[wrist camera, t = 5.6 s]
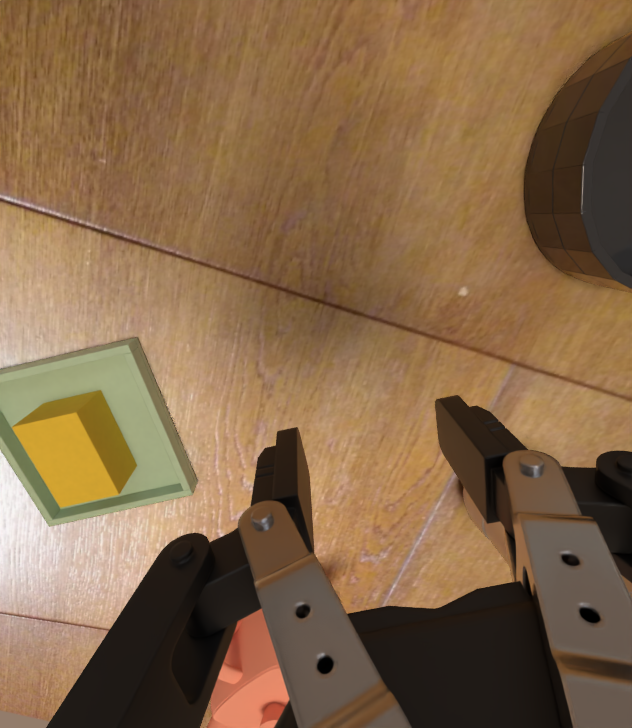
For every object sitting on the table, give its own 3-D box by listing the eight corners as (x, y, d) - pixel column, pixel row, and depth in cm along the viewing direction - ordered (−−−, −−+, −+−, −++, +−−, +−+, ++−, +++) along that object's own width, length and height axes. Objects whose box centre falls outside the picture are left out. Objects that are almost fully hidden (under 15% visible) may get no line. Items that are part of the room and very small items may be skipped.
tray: (-23, 374, 28) (-42, 384, 26) (137, 337, 27) (127, 344, 26) (60, 511, 33) (48, 527, 31) (197, 481, 32) (193, 495, 31)
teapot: (331, 651, 41) (342, 780, 32) (220, 653, 40) (198, 786, 31) (343, 552, 36) (361, 669, 27) (217, 551, 35) (189, 673, 26)
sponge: (43, 402, 28) (10, 427, 25) (101, 389, 28) (76, 412, 25) (84, 477, 31) (60, 508, 28) (137, 465, 31) (119, 495, 28)
